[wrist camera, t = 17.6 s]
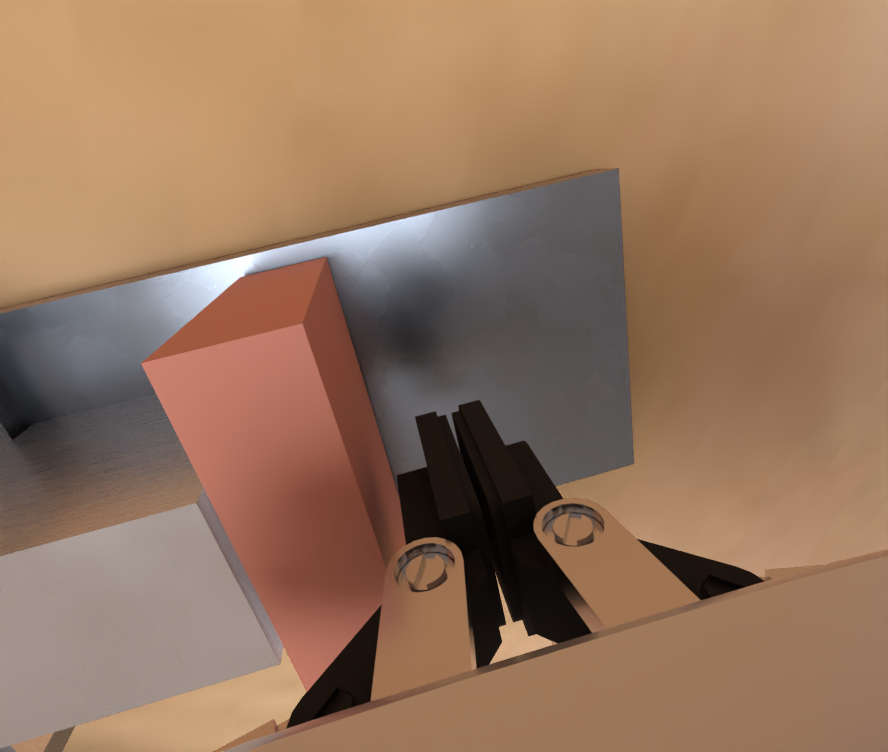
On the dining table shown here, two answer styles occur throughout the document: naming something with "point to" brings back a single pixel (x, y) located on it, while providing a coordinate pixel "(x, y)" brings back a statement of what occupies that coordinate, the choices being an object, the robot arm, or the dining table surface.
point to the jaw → (287, 453)
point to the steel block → (114, 574)
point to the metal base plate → (391, 328)
